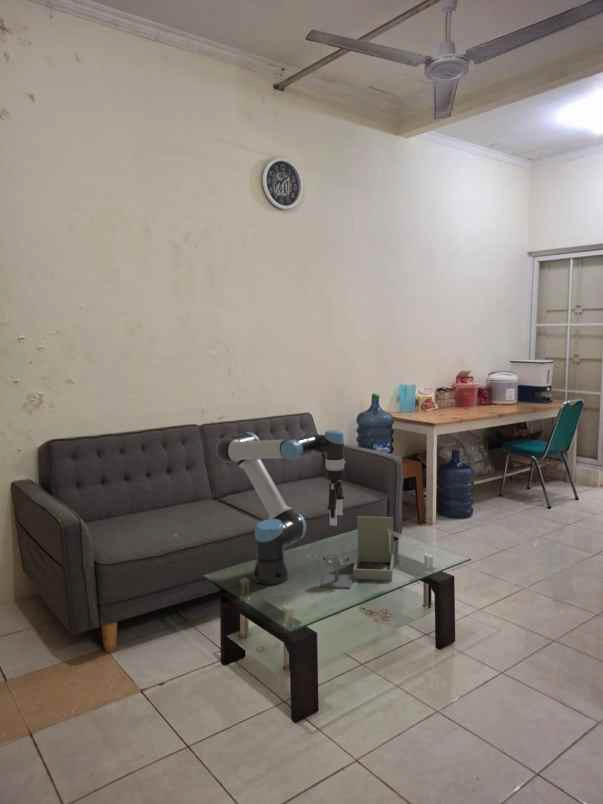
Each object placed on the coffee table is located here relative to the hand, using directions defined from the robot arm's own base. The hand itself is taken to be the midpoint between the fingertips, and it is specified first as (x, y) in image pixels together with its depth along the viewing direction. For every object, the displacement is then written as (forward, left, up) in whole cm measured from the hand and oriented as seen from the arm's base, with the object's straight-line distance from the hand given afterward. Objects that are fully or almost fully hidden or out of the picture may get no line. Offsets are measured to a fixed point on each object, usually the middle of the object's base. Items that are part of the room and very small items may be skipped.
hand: (336, 520), depth 239 cm
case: (+14, +10, -25) cm, 30 cm away
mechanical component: (0, -3, -24) cm, 25 cm away
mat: (0, -3, -25) cm, 25 cm away
